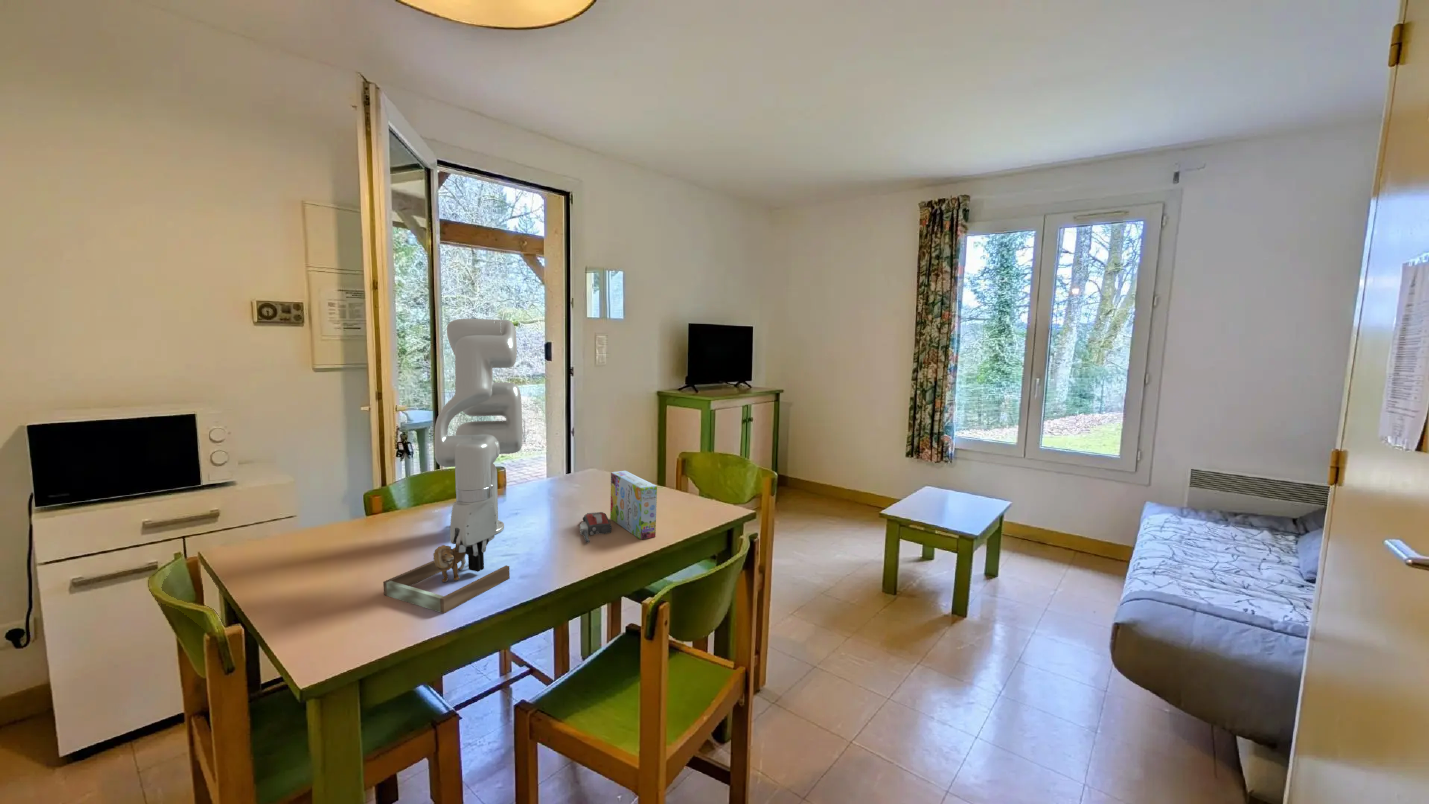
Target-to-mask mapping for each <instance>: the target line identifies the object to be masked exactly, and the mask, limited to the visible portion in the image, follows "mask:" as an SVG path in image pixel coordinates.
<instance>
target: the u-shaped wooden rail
mask: <svg viewBox="0 0 1429 804" xmlns="http://www.w3.org/2000/svg"><path fill="white" fill-rule="evenodd" d="M510 572H511V571H510V565H504V566H502V567H500V568H497V569H496V570H493V571H491V572H490V573H488V574H486V575H484V576H482V577H480V578H478V579H476V580H474V581H472V582H469V583H468V584H466V585H464V586H462V587H460V588H458V589H456V590H454V591H452V592H450V593H448V594H446V595H442V594H437V593H434V592H431V591H428V590H424V589H421V588H417V587H413V586H412V585H415V584H417V583H419V582H421V581H423V580H426V579H428V578H430V577H433V576H434V575H437V574H439V573H442V571H441V570H439V569H438V568H437V567H436V565H435V563H434V560H431V561H430V562H427V563H424V564H422V565H419V566H417V567H415V568H413V569H410V570H408V571H406V572H402V573H400V574H399V575H396V576H393V577H392V578H389V579H386V580H384V581H383V596H386V597H390V598H393V599H395V600H400V601H402V602H404V603H410V604H413V605H416V606H419V607H422V608H424V609H425V608H426V609H429V610H432V611H435V612H437V613H442V614H446V613H448V612H450V611H451V610H453V609H455V608H457V607H459V606H460V605H463V604H464V603H466V602H468V601H470V600H472V599H474V598H476V597H477V596H480V595H481V594H483V593H485V592H488V591H489V590H491V589H493V588H494V587H496V586H498V585H501V583H505V582H506V581H508V580H510Z"/></svg>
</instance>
